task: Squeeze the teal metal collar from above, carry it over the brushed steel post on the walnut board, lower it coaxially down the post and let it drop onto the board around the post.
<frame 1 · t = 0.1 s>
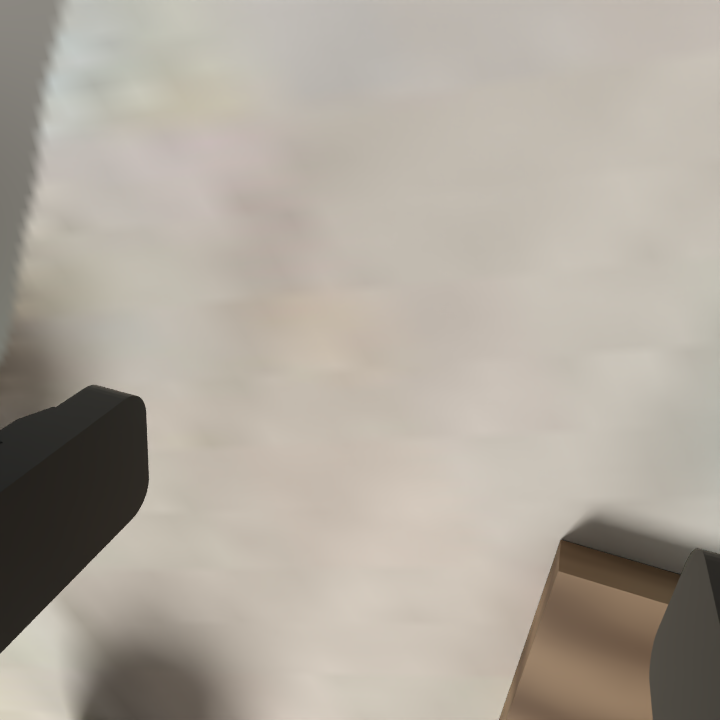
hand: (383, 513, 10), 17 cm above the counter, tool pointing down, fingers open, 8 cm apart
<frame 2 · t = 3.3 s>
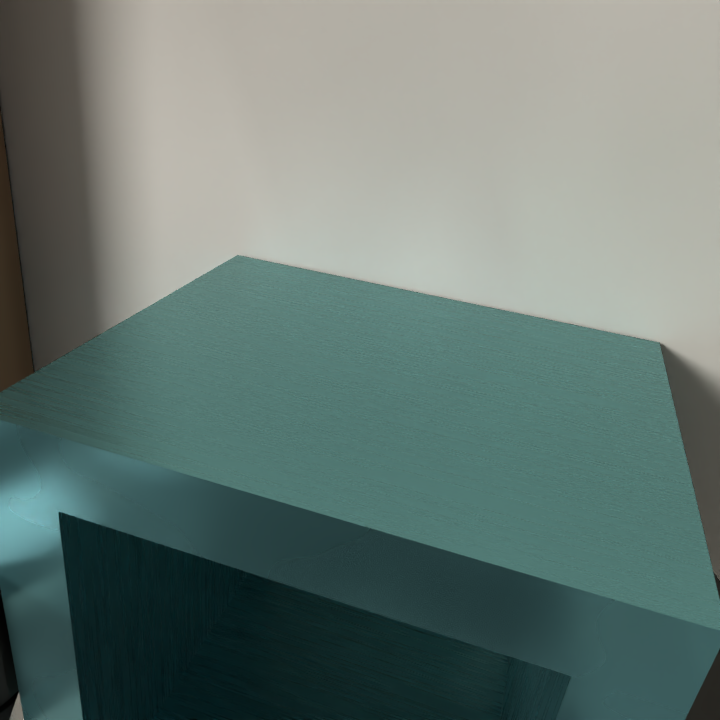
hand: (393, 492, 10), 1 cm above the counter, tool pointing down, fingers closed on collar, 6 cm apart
collar: (404, 471, 11), on the counter, touching gripper
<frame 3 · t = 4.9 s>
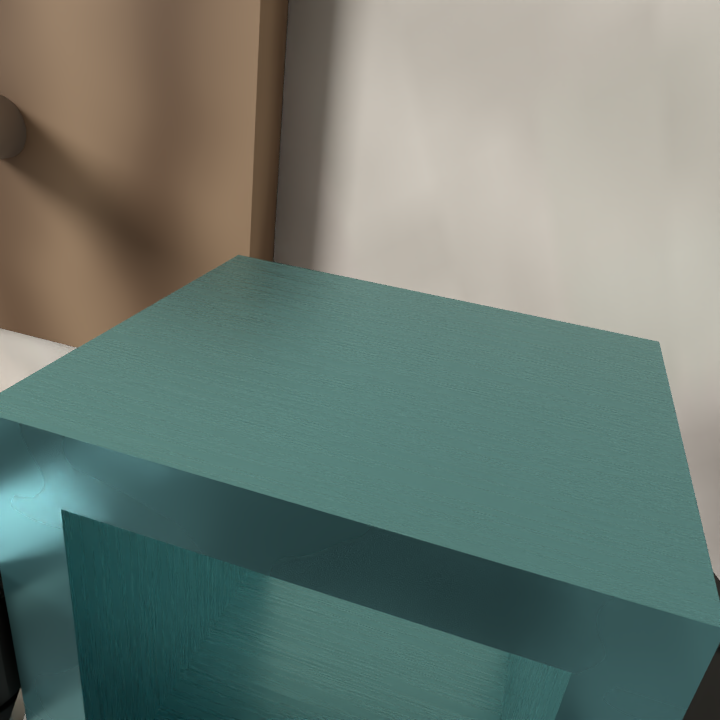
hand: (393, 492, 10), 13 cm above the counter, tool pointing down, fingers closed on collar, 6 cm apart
collar: (404, 470, 11), point 12 cm above the counter, touching gripper
post board: (42, 120, 24), on the counter
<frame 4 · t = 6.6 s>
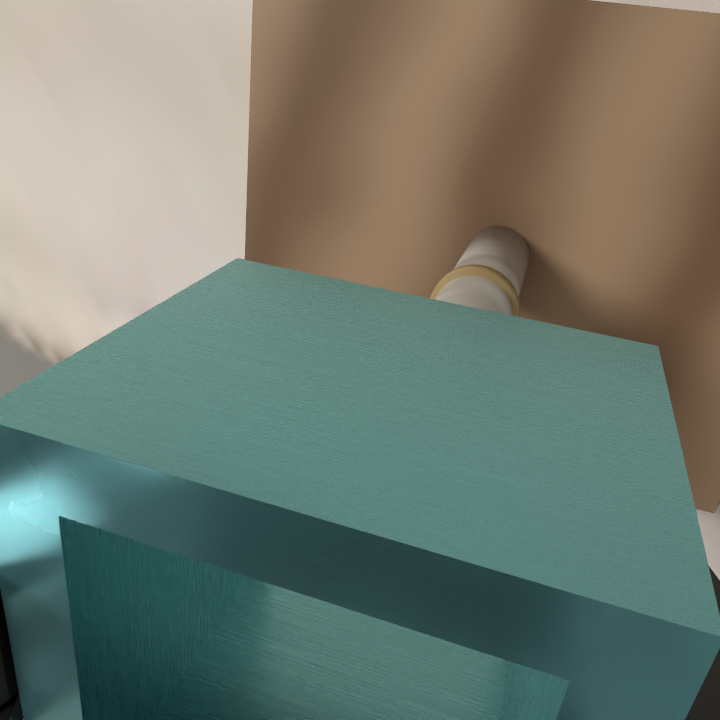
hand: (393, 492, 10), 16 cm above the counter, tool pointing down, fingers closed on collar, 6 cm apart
collar: (403, 474, 11), point 15 cm above the counter, touching gripper
post board: (504, 241, 24), on the counter
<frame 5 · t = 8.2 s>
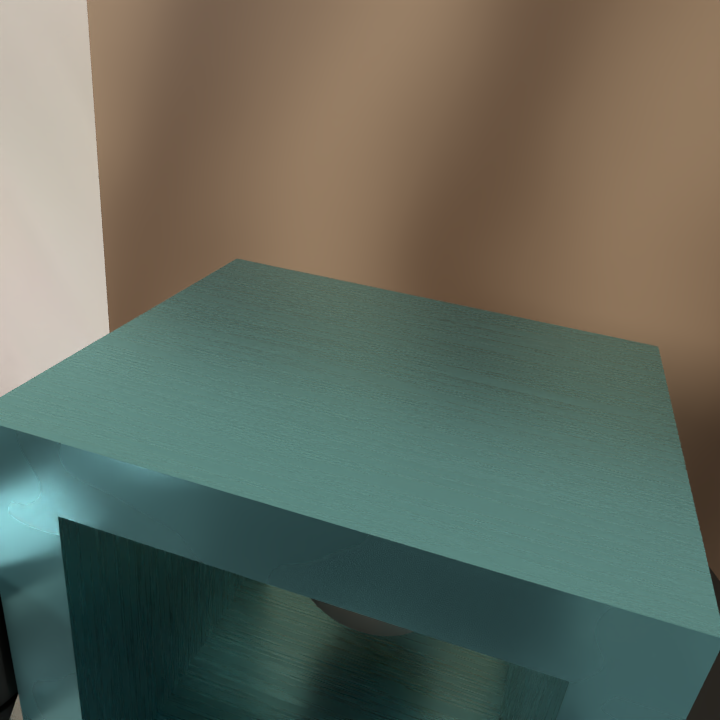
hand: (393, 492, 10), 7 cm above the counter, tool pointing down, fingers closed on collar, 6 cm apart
collar: (403, 474, 11), point 7 cm above the counter, touching gripper
post board: (475, 327, 16), on the counter
when the fingers open (4 cm above the counter, at t = 9.8 s): collar drops 1 cm, resting on post board.
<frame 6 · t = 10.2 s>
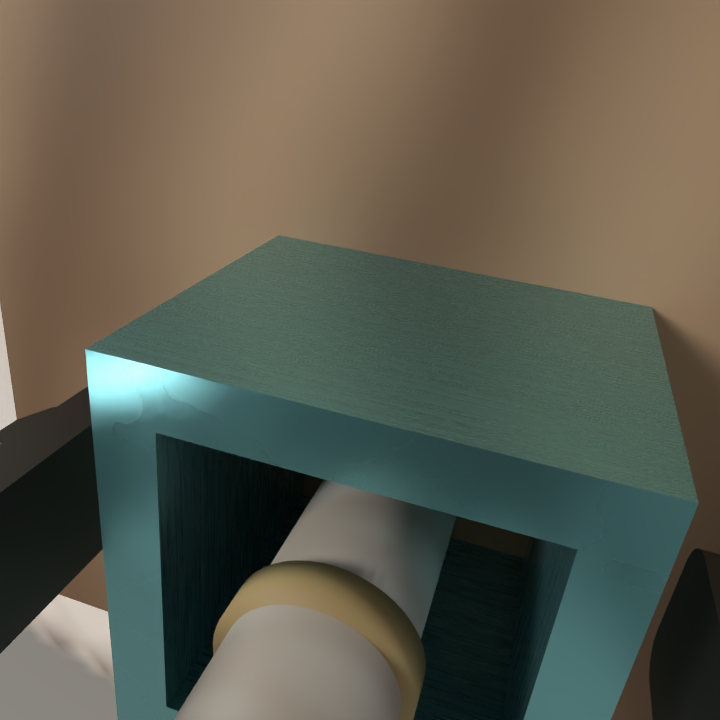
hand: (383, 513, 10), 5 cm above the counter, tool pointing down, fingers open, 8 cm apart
collar: (426, 429, 12), point 2 cm above the counter, touching post board
post board: (444, 379, 14), on the counter
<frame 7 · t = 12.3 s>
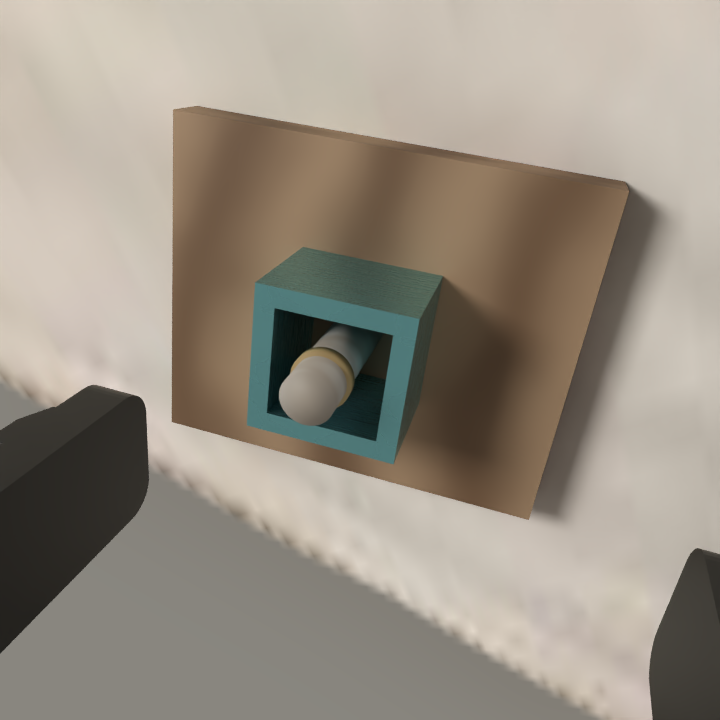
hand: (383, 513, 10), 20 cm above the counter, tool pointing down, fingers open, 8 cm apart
collar: (362, 327, 29), point 2 cm above the counter, touching post board
post board: (372, 310, 31), on the counter
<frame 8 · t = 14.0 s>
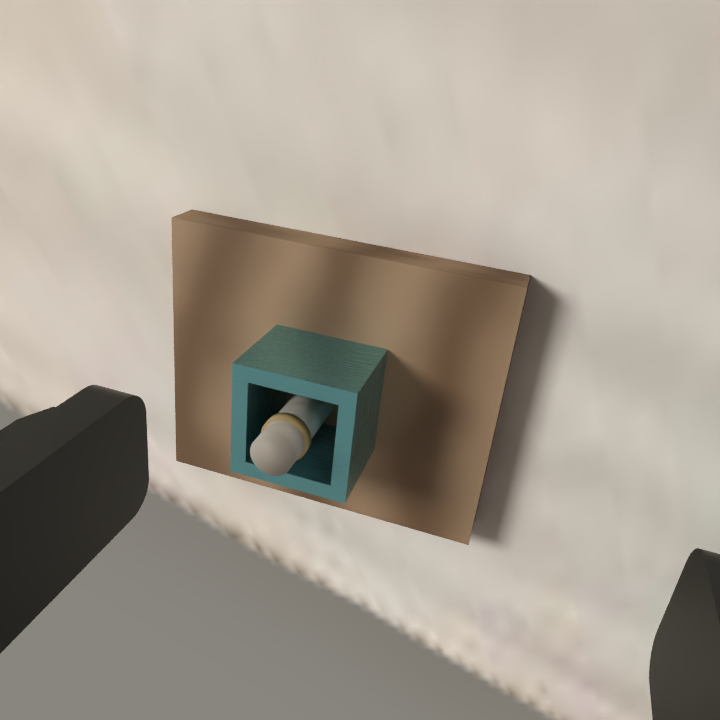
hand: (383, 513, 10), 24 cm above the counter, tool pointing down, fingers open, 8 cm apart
collar: (326, 388, 36), point 2 cm above the counter, touching post board
post board: (337, 371, 37), on the counter
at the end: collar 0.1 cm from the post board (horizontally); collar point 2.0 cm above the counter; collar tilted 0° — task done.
